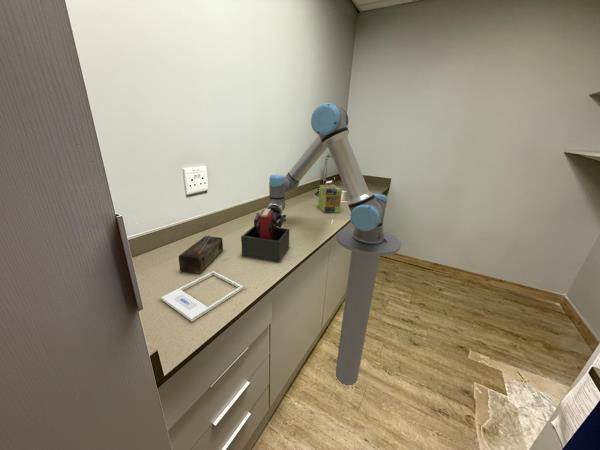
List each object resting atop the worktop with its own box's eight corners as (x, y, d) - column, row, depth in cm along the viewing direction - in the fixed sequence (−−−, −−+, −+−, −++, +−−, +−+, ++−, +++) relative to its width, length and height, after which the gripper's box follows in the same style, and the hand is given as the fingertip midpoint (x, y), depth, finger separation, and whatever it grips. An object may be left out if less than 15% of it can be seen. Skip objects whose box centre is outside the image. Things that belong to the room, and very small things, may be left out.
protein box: (324, 213, 154) (326, 189, 149) (317, 206, 168) (319, 184, 163) (339, 212, 156) (342, 189, 151) (332, 206, 171) (334, 184, 165)
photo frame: (161, 296, 70) (213, 270, 84) (161, 299, 70) (213, 273, 84) (191, 318, 62) (243, 285, 76) (191, 321, 62) (243, 288, 77)
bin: (288, 247, 106) (289, 229, 103) (279, 262, 93) (279, 241, 90) (255, 242, 109) (255, 224, 106) (242, 256, 96) (241, 236, 93)
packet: (273, 238, 103) (273, 209, 99) (269, 246, 95) (269, 215, 91) (263, 237, 103) (263, 208, 99) (259, 246, 96) (258, 214, 91)
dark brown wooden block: (224, 250, 101) (223, 235, 98) (200, 275, 83) (198, 258, 81) (206, 248, 102) (204, 233, 99) (178, 272, 84) (176, 255, 82)
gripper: (291, 220, 115) (285, 240, 93) (256, 218, 115) (242, 238, 94) (291, 205, 112) (286, 222, 90) (255, 203, 113) (241, 219, 91)
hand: (263, 230), depth 92 cm, fingers closed on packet, 4 cm apart
